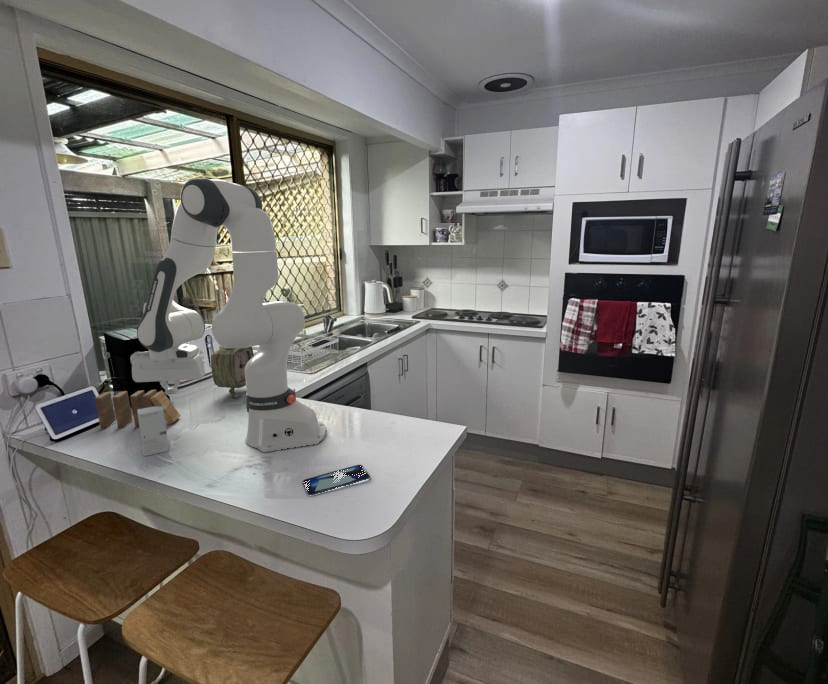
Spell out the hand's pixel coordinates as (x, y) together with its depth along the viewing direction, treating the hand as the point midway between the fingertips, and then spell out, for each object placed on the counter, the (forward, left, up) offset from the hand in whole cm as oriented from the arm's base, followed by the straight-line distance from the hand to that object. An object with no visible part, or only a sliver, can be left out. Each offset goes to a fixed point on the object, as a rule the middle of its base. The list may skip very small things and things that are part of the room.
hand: (172, 393), depth 134 cm
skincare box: (-3, +20, -10) cm, 22 cm away
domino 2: (+15, 0, -9) cm, 18 cm away
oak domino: (0, 0, -9) cm, 9 cm away
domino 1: (+20, 0, -9) cm, 22 cm away
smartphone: (-53, +42, -10) cm, 68 cm away
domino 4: (+5, 0, -9) cm, 11 cm away
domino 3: (+10, 0, -9) cm, 14 cm away
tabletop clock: (-12, -24, -10) cm, 28 cm away
